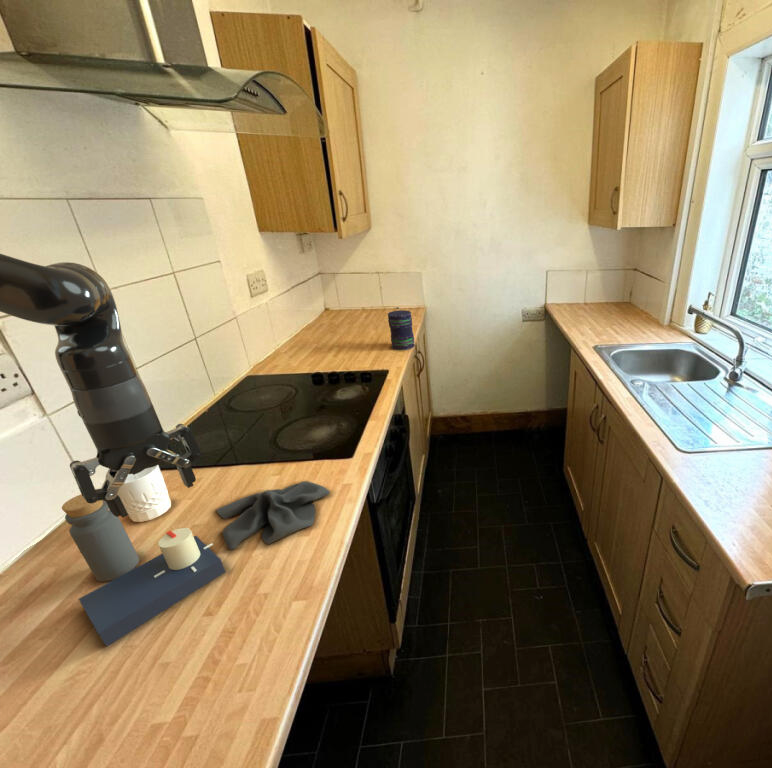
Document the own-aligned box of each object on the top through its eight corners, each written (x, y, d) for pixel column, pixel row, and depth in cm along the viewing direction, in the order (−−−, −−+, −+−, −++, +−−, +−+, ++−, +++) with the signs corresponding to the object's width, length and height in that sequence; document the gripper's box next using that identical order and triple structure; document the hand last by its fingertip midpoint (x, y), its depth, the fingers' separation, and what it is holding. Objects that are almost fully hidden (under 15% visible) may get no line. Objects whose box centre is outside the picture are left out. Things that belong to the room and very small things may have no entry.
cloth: (335, 479, 96) (329, 457, 93) (315, 539, 79) (309, 513, 77) (229, 492, 92) (221, 469, 90) (185, 557, 75) (174, 531, 73)
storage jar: (393, 343, 187) (388, 303, 179) (415, 342, 188) (411, 302, 180) (390, 350, 178) (384, 309, 170) (413, 349, 178) (408, 308, 171)
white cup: (173, 514, 86) (156, 474, 82) (124, 530, 82) (103, 489, 78) (175, 494, 92) (159, 456, 88) (129, 508, 88) (110, 468, 84)
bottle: (137, 550, 77) (104, 484, 71) (141, 568, 73) (106, 500, 67) (95, 568, 73) (56, 500, 67) (96, 588, 69) (55, 518, 63)
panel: (106, 647, 60) (97, 632, 59) (86, 612, 65) (77, 598, 64) (230, 568, 73) (225, 555, 72) (205, 544, 78) (200, 531, 77)
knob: (205, 555, 72) (195, 532, 70) (176, 574, 68) (165, 550, 66) (192, 546, 74) (182, 523, 72) (163, 563, 70) (152, 539, 68)
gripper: (54, 438, 52) (107, 537, 59) (186, 397, 63) (218, 484, 69) (40, 422, 56) (91, 516, 62) (166, 385, 66) (198, 469, 73)
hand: (158, 499), depth 66 cm, fingers open, 8 cm apart
